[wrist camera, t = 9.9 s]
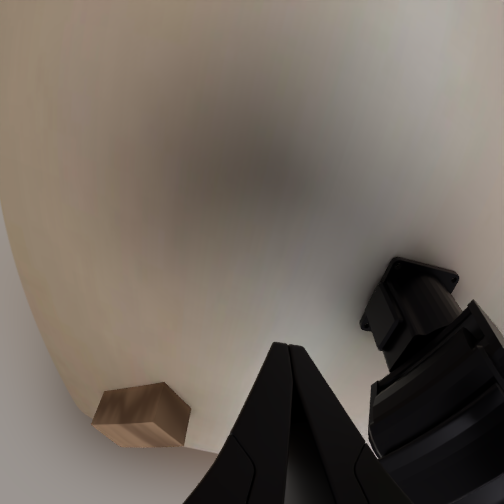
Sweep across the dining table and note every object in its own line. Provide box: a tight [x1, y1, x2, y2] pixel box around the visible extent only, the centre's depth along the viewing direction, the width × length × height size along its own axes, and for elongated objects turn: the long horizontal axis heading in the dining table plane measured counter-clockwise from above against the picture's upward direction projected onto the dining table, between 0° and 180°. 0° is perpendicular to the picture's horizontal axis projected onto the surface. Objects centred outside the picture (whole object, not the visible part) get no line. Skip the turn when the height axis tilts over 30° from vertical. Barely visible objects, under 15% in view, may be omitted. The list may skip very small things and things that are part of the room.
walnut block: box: [91, 382, 191, 447], centre depth 28 cm, size 5×5×9 cm
